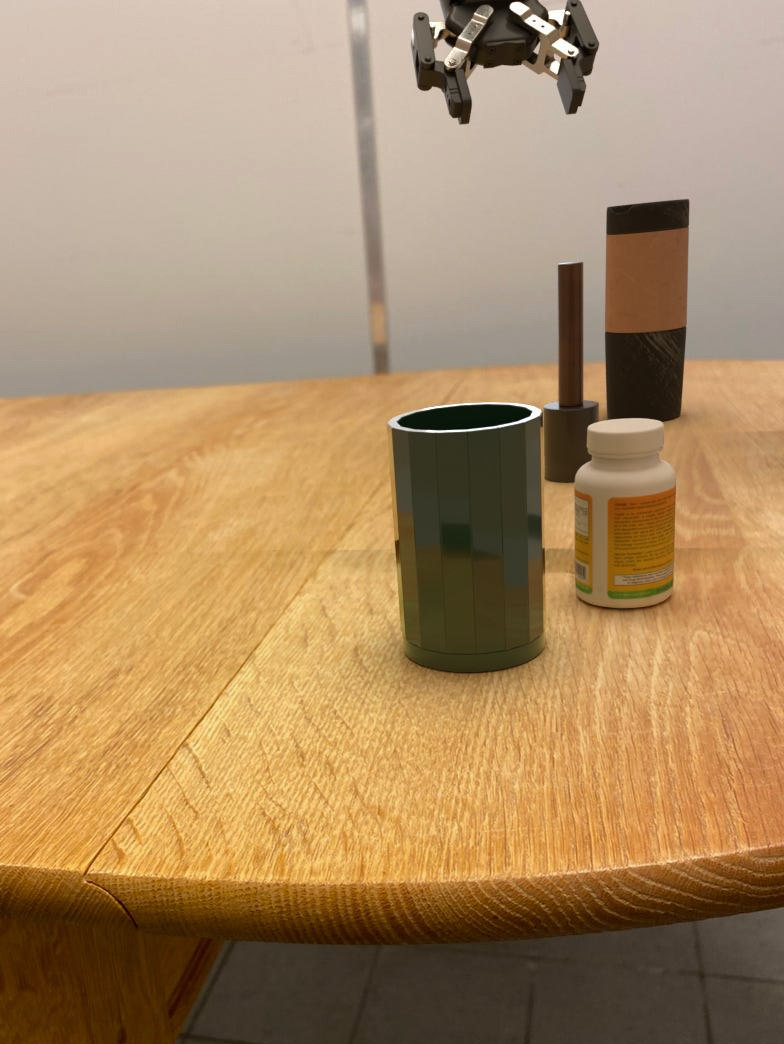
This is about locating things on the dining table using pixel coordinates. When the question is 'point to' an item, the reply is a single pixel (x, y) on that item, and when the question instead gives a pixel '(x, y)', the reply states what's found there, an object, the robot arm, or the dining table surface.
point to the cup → (469, 534)
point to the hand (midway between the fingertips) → (520, 110)
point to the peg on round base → (568, 385)
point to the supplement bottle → (625, 516)
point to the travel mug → (646, 308)
